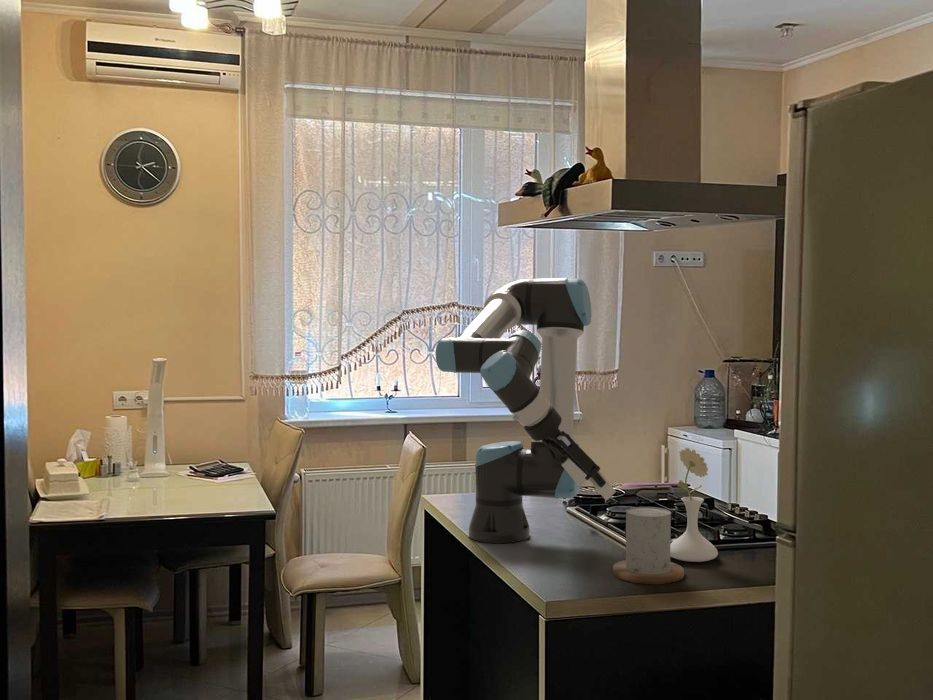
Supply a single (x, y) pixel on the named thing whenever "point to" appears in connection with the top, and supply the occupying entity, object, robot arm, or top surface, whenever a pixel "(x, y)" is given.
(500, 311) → the robot arm
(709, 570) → the top surface
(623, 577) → the walnut board
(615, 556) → the top surface
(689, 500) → the flower in vase
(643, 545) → the white speckled cylinder
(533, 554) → the top surface
